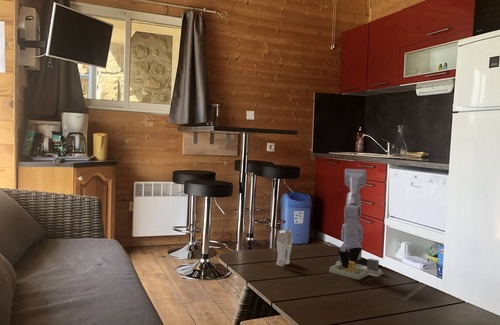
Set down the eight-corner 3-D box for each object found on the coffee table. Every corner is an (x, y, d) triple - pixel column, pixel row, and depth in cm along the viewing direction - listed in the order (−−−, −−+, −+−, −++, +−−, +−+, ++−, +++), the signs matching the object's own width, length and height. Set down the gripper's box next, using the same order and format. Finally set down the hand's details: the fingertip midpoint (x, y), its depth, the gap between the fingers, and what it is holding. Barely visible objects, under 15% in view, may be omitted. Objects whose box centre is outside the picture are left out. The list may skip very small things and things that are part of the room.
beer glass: (272, 264, 184) (274, 231, 183) (279, 261, 190) (280, 229, 190) (287, 267, 181) (289, 233, 180) (293, 264, 187) (295, 231, 186)
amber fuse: (345, 273, 176) (346, 260, 176) (354, 275, 173) (355, 262, 173) (343, 274, 174) (343, 261, 174) (351, 276, 171) (352, 263, 171)
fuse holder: (340, 264, 190) (341, 259, 190) (383, 275, 177) (383, 269, 177) (333, 267, 184) (333, 262, 184) (376, 278, 172) (377, 272, 171)
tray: (339, 270, 181) (339, 263, 181) (368, 277, 173) (368, 270, 173) (329, 274, 174) (329, 267, 174) (358, 282, 166) (359, 274, 166)
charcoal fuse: (369, 271, 179) (369, 258, 178) (378, 273, 176) (378, 260, 176) (366, 272, 177) (367, 259, 177) (375, 274, 174) (376, 261, 174)
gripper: (352, 237, 165) (350, 271, 165) (367, 233, 176) (365, 264, 177) (336, 234, 169) (334, 267, 170) (352, 230, 180) (350, 261, 181)
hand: (349, 265), depth 173 cm, fingers open, 7 cm apart
